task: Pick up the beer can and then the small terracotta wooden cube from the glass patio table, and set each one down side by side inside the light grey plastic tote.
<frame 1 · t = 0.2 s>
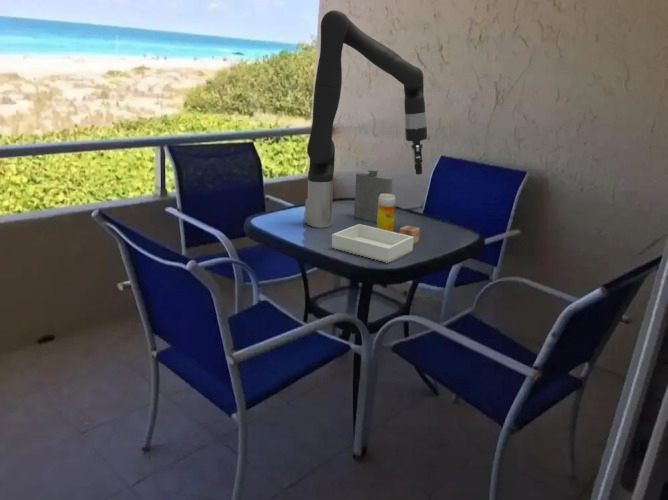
hand: (418, 171, 208), 22 cm above the table, tool pointing down, fingers open, 8 cm apart
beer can: (384, 236, 210), on the table
wooden cube: (408, 241, 204), on the table
hip flask: (371, 220, 229), on the table
tote: (372, 249, 194), on the table
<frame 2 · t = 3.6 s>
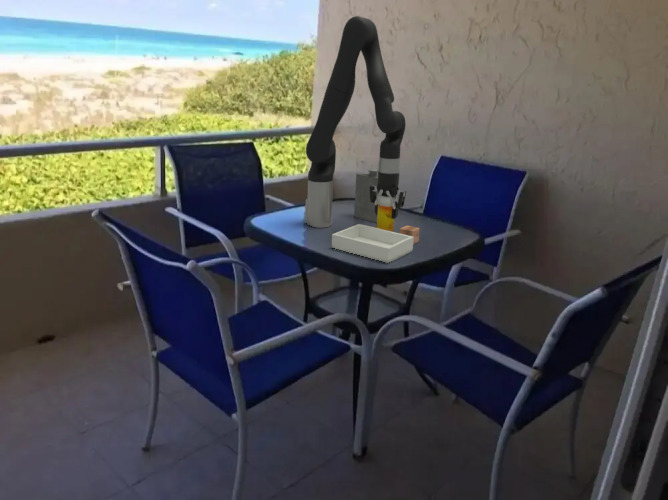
hand: (385, 216, 207), 7 cm above the table, tool pointing down, fingers closed on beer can, 6 cm apart
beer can: (384, 236, 210), on the table, touching gripper
everything else where it was.
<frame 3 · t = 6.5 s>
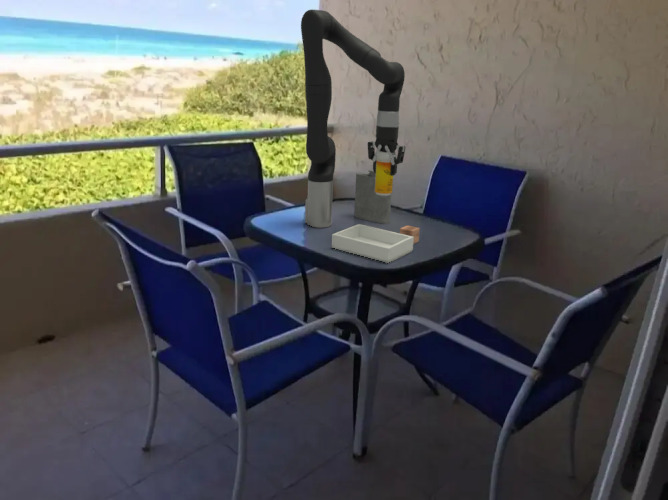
hand: (384, 173, 200), 23 cm above the table, tool pointing down, fingers closed on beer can, 6 cm apart
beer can: (383, 194, 202), point 16 cm above the table, touching gripper
everything else where it was.
when the fingers open (10 cm above the table, at t = 9.7 s): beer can drops 2 cm, resting on tote.
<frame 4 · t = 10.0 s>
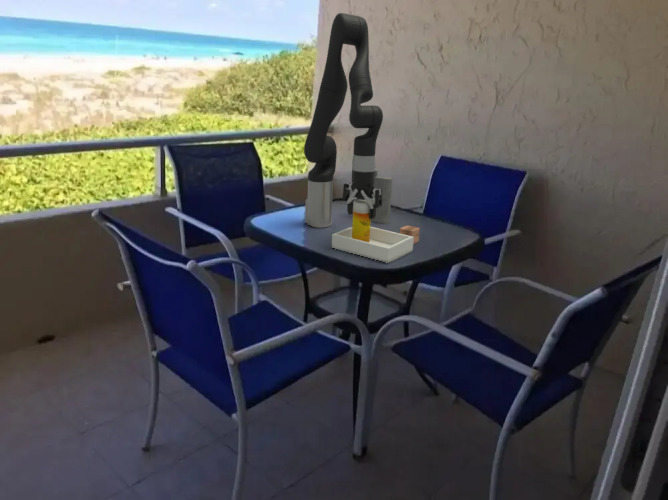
hand: (361, 216, 194), 11 cm above the table, tool pointing down, fingers open, 8 cm apart
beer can: (360, 244, 197), point 1 cm above the table, touching tote
everything else where it was.
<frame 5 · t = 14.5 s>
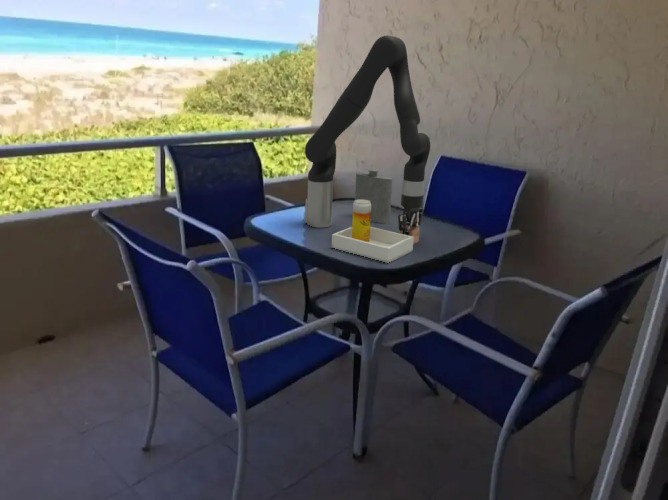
hand: (409, 239, 204), 1 cm above the table, tool pointing down, fingers closed on wooden cube, 5 cm apart
wooden cube: (408, 241, 204), on the table, touching gripper
everything else where it was.
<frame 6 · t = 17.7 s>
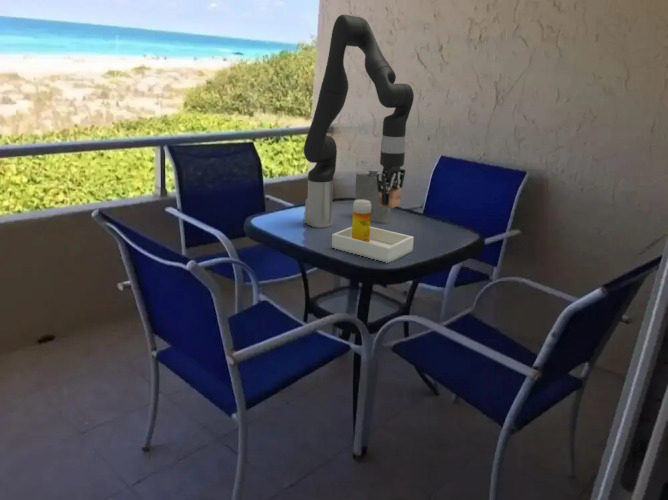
hand: (389, 203, 186), 17 cm above the table, tool pointing down, fingers closed on wooden cube, 5 cm apart
wooden cube: (389, 205, 186), point 16 cm above the table, touching gripper
everything else where it was.
when the fingers open (3 cm above the table, at t = 20.7 s): wooden cube drops 2 cm, resting on tote.
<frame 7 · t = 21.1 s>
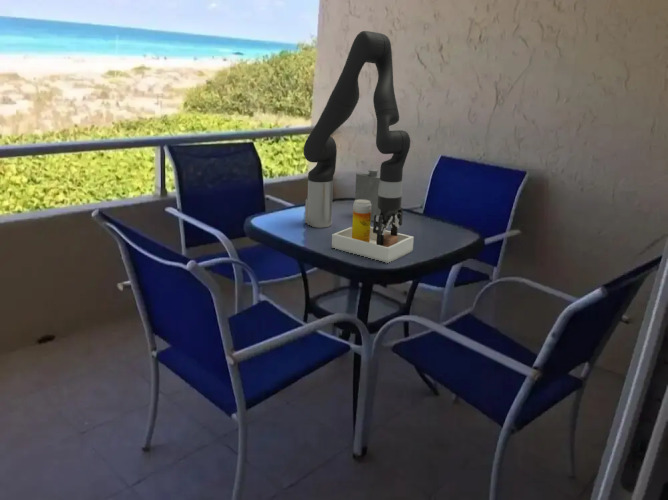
hand: (386, 242, 190), 4 cm above the table, tool pointing down, fingers open, 8 cm apart
wooden cube: (386, 251, 191), point 1 cm above the table, touching tote
everything else where it was.
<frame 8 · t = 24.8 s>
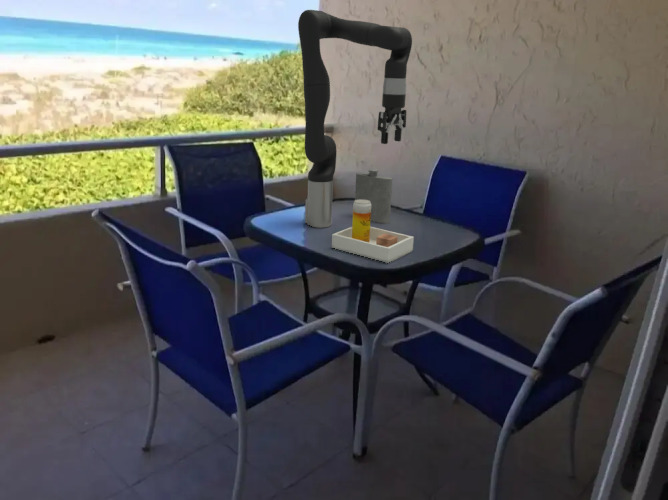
hand: (391, 142, 195), 34 cm above the table, tool pointing down, fingers open, 8 cm apart
nothing on the table moved.
at the end: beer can inside the target area on the tote (4.9 cm from its centre), point 0.6 cm above the tote's base; wooden cube inside the target area on the tote (5.5 cm from its centre), point 0.8 cm above the tote's base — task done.
